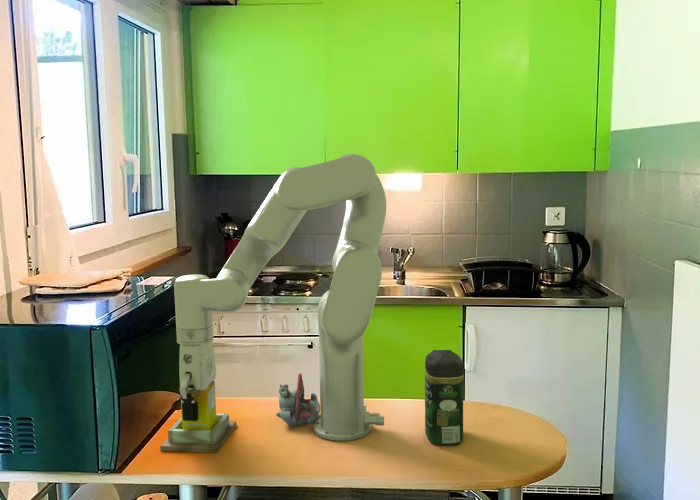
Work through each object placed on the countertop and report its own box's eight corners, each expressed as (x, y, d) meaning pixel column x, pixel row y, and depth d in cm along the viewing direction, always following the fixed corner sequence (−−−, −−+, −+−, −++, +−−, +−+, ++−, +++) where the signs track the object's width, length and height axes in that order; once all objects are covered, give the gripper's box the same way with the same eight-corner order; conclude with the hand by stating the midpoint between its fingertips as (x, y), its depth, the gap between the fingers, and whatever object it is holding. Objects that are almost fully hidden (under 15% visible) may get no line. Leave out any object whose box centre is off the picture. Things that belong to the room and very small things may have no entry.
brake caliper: (328, 419, 150) (294, 377, 149) (289, 447, 151) (255, 406, 150) (331, 400, 161) (300, 361, 160) (295, 427, 163) (263, 388, 161)
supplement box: (190, 427, 150) (188, 379, 148) (217, 428, 150) (215, 380, 148) (181, 439, 144) (179, 389, 142) (209, 439, 144) (207, 389, 142)
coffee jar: (422, 428, 150) (422, 346, 148) (458, 427, 150) (459, 346, 148) (427, 447, 141) (428, 360, 138) (466, 447, 141) (467, 360, 138)
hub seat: (236, 425, 153) (235, 410, 153) (216, 453, 140) (216, 436, 139) (184, 423, 155) (184, 408, 154) (160, 450, 141) (159, 434, 140)
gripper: (198, 346, 135) (202, 428, 137) (224, 323, 152) (227, 397, 154) (161, 345, 136) (166, 427, 138) (192, 322, 153) (195, 396, 155)
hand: (198, 411), depth 146 cm, fingers open, 9 cm apart
